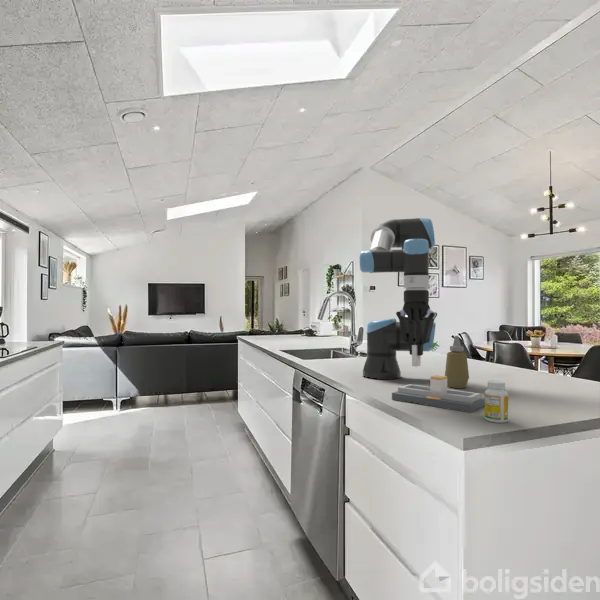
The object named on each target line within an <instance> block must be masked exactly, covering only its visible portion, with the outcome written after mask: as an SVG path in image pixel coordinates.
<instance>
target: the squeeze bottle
mask: <svg viewBox="0 0 600 600" xmlns="http://www.w3.org/2000/svg"><path fill="white" fill-rule="evenodd" d="M464 348H465V347H464V346H463V345H461V341H460V337H459V335H455V336H454V338H453V343H452V345H450V346H449V352H446V361H445V362H446V363H445V373H444V376H447V387H448V388H452V389H463V388H466V387H467V385H468V382H469V380H470V374H469V373H470V372H469V365H468V364H469V363H468V355H467V353H466V352H464V351H465V349H464Z"/></svg>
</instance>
